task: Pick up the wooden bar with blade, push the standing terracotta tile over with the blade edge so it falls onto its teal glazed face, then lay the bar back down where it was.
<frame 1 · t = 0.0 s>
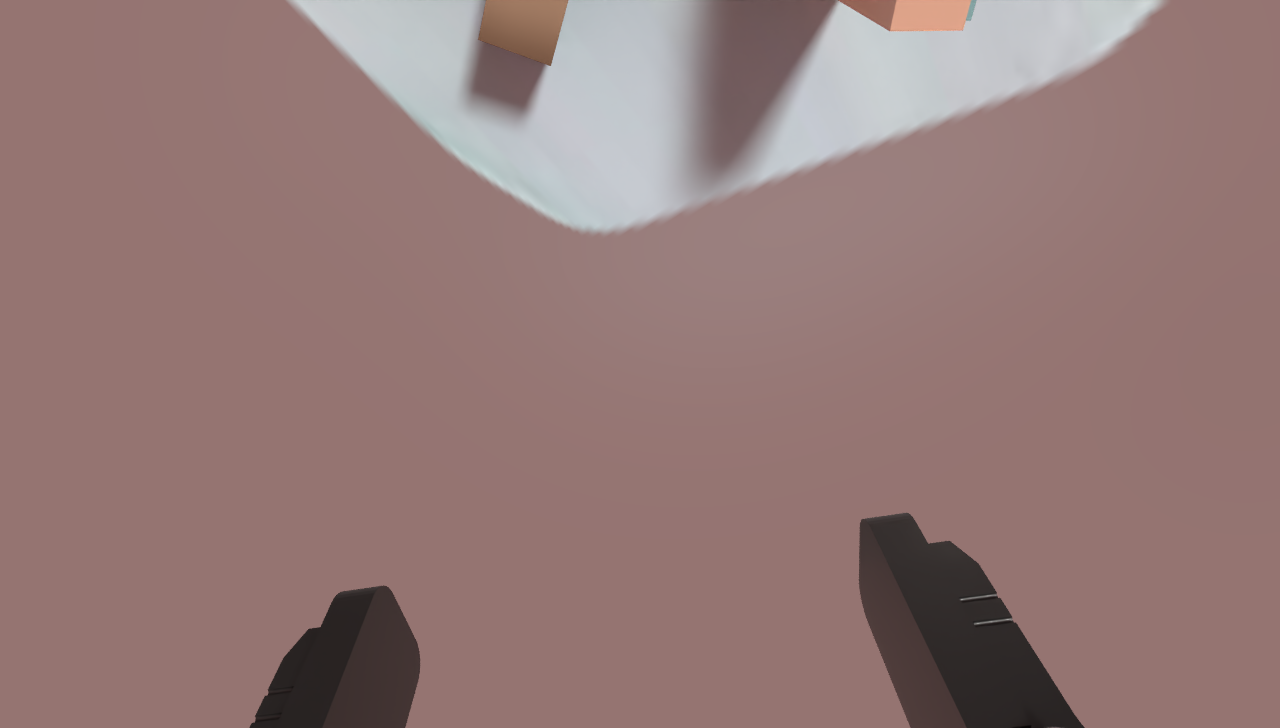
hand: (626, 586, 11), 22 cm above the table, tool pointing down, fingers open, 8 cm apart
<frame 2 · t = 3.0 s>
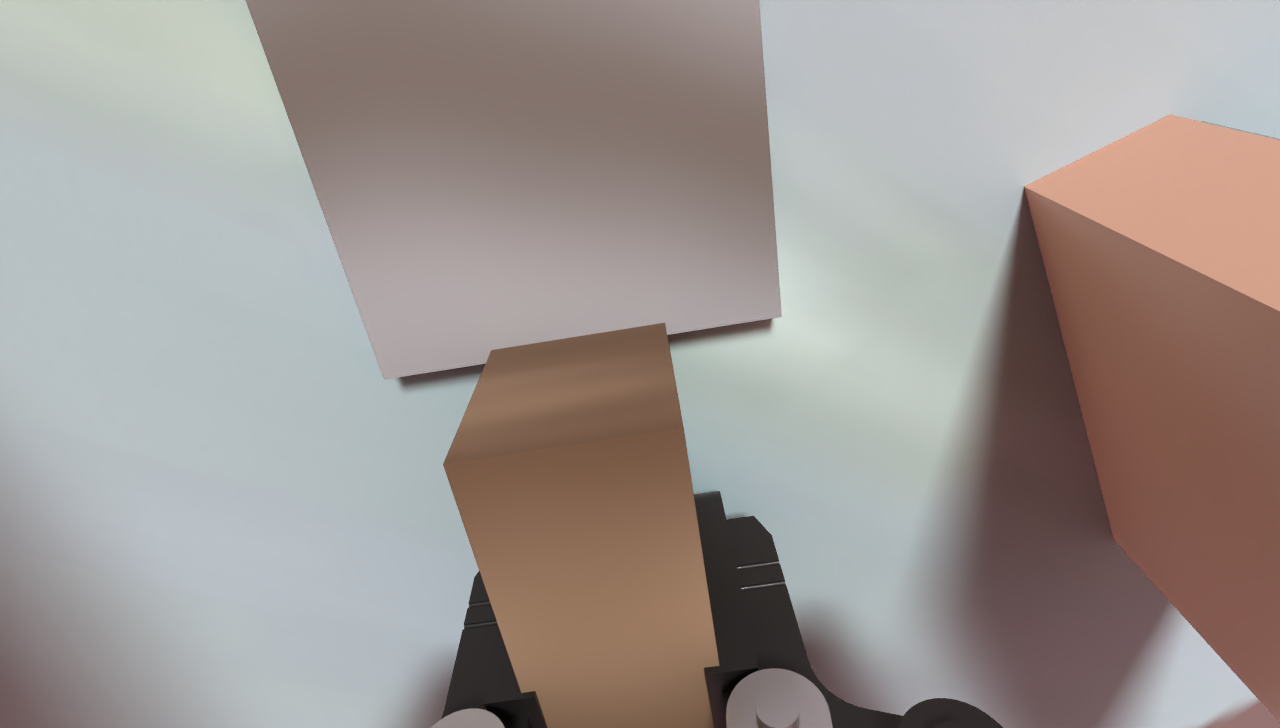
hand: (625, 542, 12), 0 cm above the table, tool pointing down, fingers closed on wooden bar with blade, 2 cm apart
wooden bar with blade: (627, 545, 12), on the table, touching gripper
tile: (1136, 365, 11), on the table
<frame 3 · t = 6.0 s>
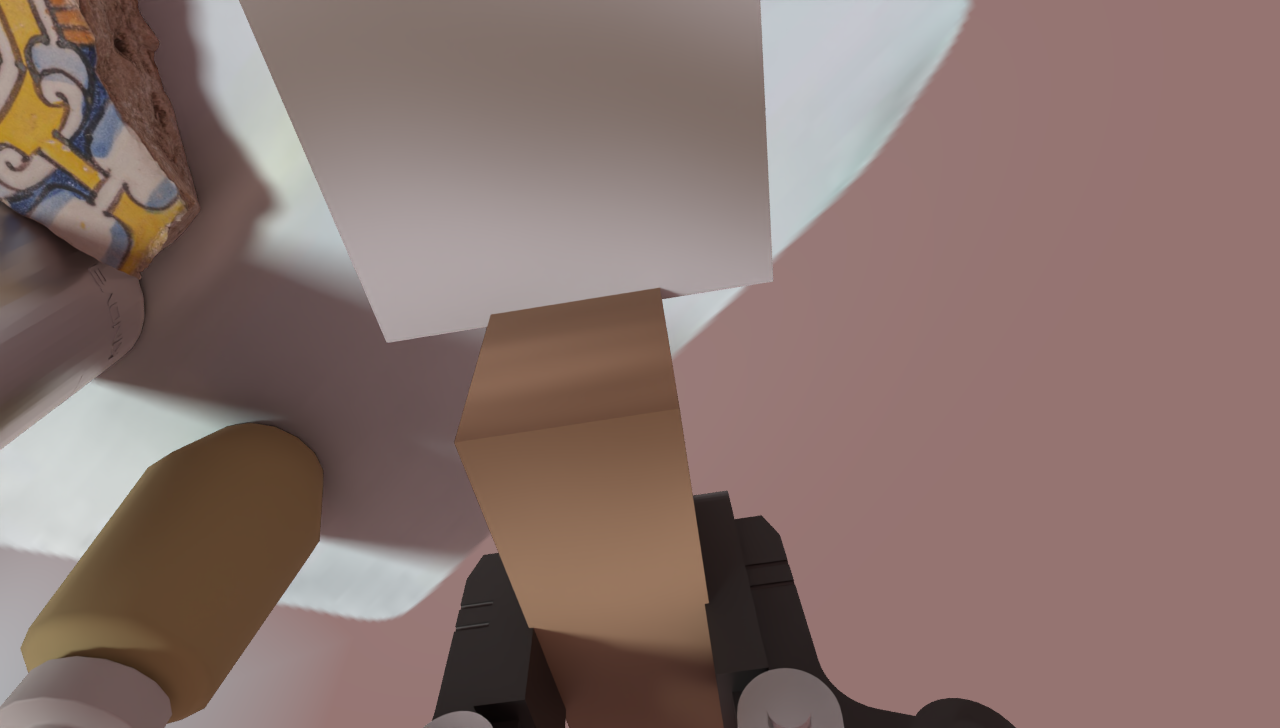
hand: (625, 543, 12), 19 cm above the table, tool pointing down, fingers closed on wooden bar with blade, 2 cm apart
wooden bar with blade: (622, 487, 13), point 18 cm above the table, touching gripper
ceramic tile fragment: (87, 114, 26), on the table
squeeze bottle: (268, 464, 34), on the table
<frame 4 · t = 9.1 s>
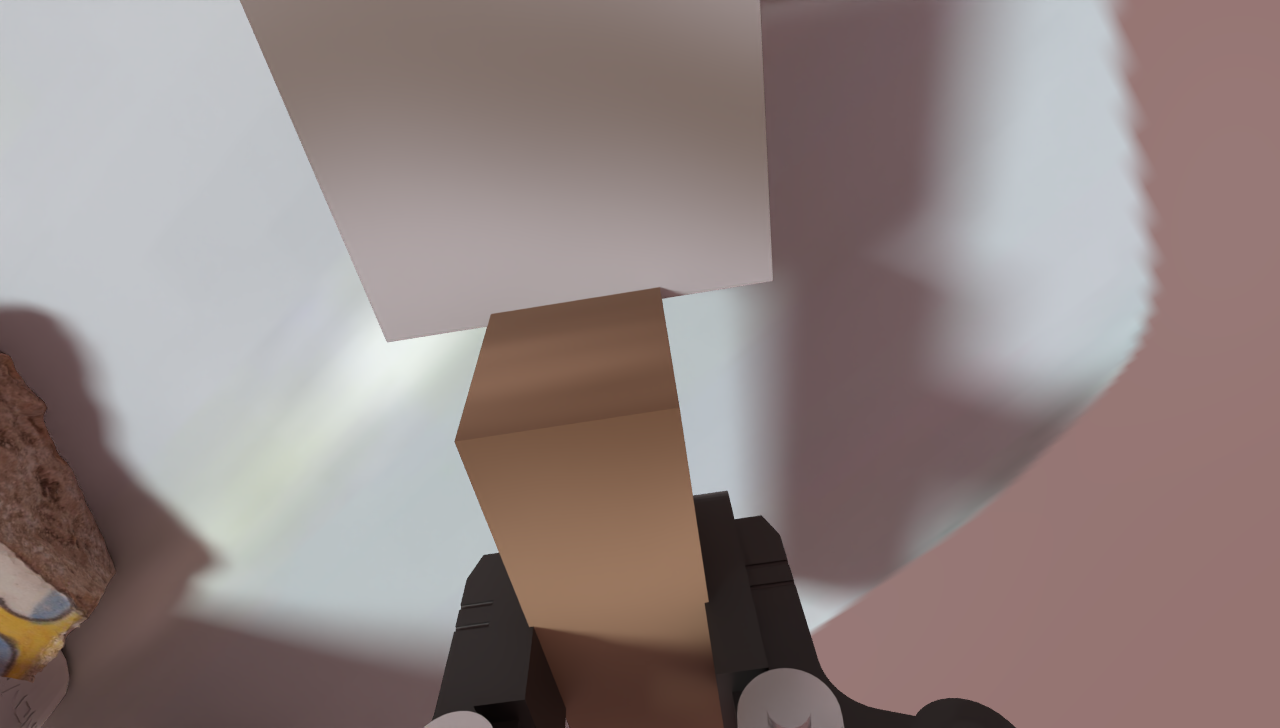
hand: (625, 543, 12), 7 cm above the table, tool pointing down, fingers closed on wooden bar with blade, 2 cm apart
wooden bar with blade: (622, 486, 13), point 6 cm above the table, touching gripper
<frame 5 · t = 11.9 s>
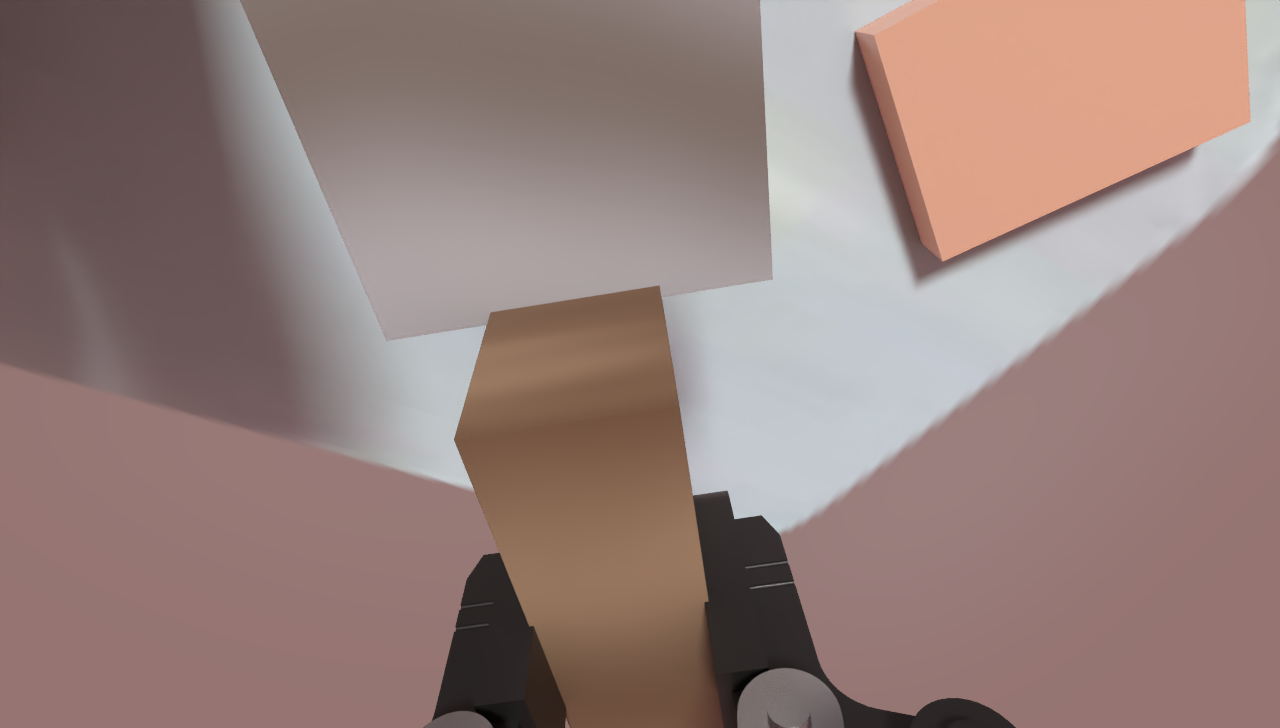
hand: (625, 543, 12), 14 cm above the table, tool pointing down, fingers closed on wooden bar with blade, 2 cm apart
wooden bar with blade: (622, 485, 13), point 13 cm above the table, touching gripper
tile: (899, 151, 22), point 1 cm above the table, tilted 90°
when the fingers open (2 cm above the table, at t = 14.3 s): wooden bar with blade stays where it is, on the table.
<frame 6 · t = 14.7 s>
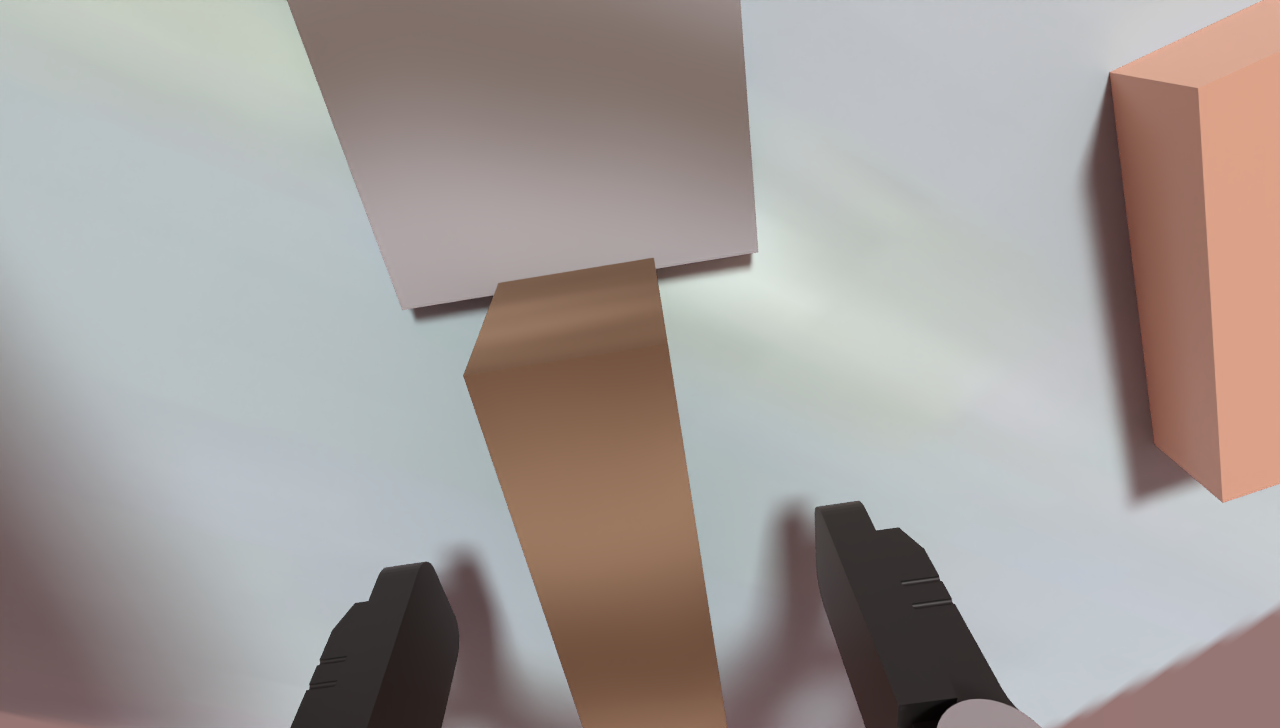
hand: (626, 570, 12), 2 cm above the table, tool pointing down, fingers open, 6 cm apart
wooden bar with blade: (621, 461, 14), on the table
tile: (1166, 305, 11), point 1 cm above the table, tilted 90°
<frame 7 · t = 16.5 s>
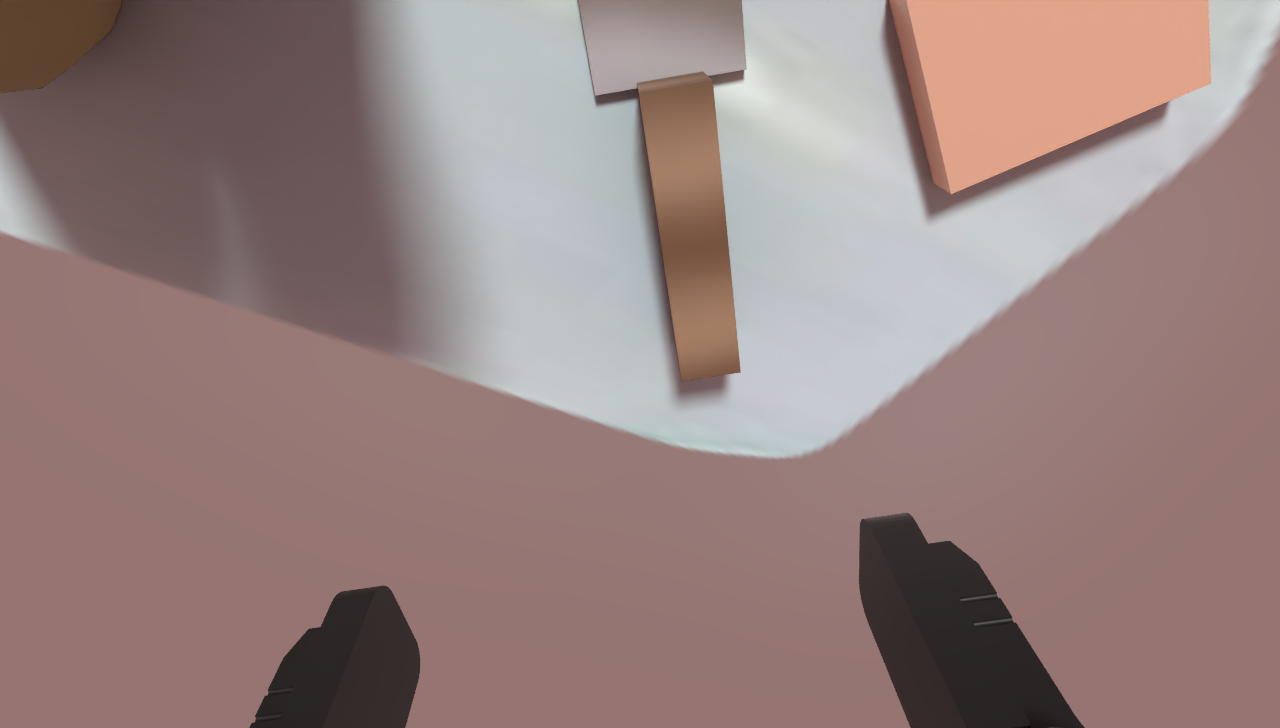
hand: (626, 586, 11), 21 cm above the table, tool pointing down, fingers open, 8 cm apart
wooden bar with blade: (682, 187, 29), on the table
tile: (919, 96, 26), point 1 cm above the table, tilted 90°
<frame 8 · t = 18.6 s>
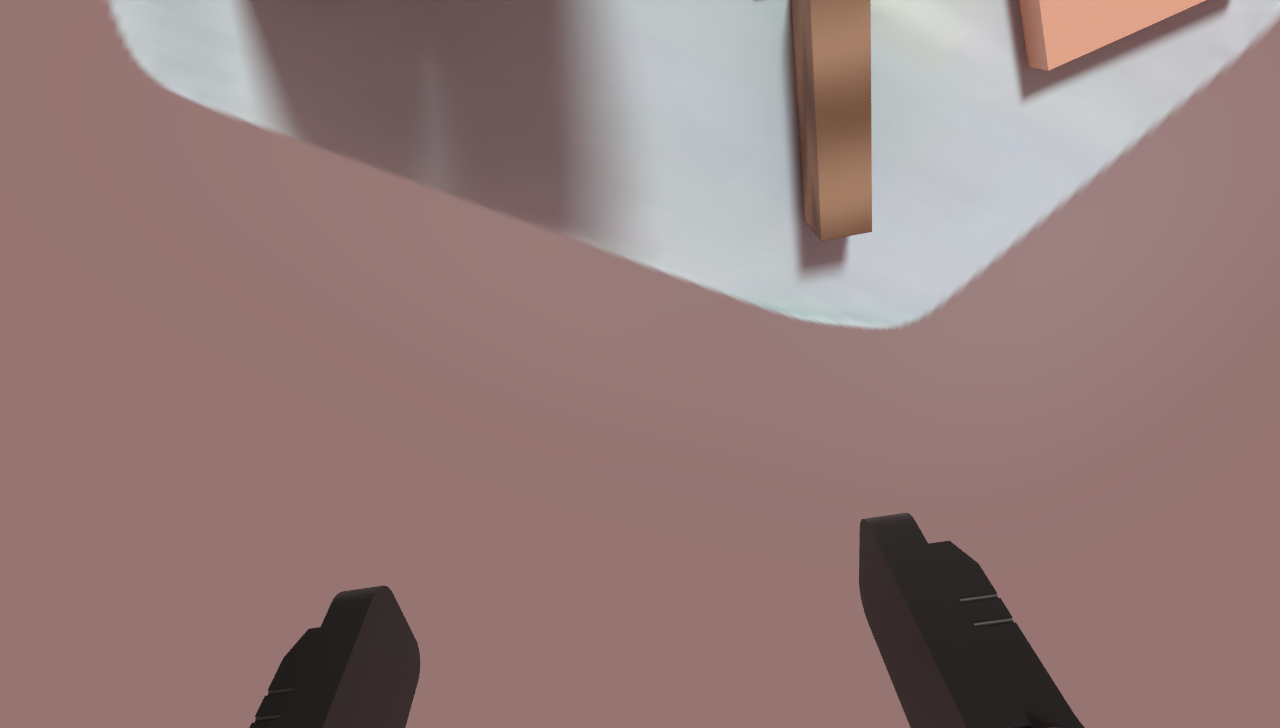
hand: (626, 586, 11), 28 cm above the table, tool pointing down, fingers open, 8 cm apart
wooden bar with blade: (820, 73, 34), on the table
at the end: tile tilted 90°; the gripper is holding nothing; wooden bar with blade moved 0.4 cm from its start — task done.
